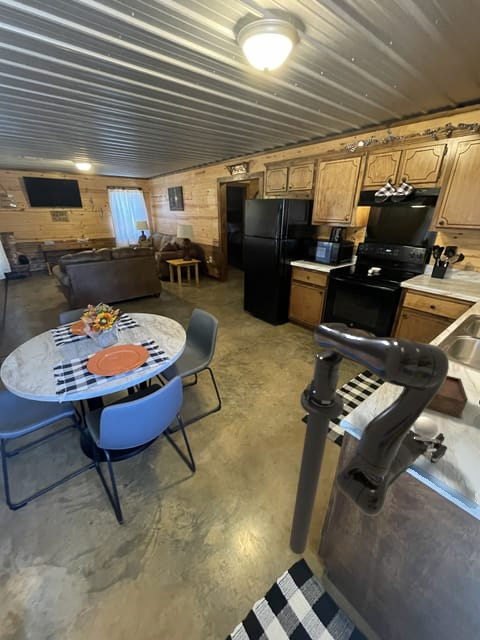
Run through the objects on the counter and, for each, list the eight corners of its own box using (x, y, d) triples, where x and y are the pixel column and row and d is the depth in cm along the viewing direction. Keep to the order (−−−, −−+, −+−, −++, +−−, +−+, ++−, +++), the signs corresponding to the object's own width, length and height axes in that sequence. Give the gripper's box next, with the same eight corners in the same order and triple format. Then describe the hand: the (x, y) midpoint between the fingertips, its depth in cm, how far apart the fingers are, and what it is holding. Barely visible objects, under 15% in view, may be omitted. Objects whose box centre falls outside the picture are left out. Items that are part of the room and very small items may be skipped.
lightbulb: (431, 458, 77) (443, 430, 73) (407, 450, 80) (417, 423, 75) (427, 442, 82) (438, 415, 78) (405, 436, 85) (414, 409, 80)
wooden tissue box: (407, 402, 100) (413, 384, 96) (407, 382, 111) (412, 366, 108) (459, 418, 92) (467, 399, 89) (453, 395, 103) (460, 378, 100)
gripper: (431, 463, 61) (457, 432, 70) (373, 424, 72) (402, 402, 81) (422, 484, 64) (448, 452, 73) (368, 444, 75) (396, 420, 84)
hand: (424, 426), depth 77 cm, fingers open, 8 cm apart
